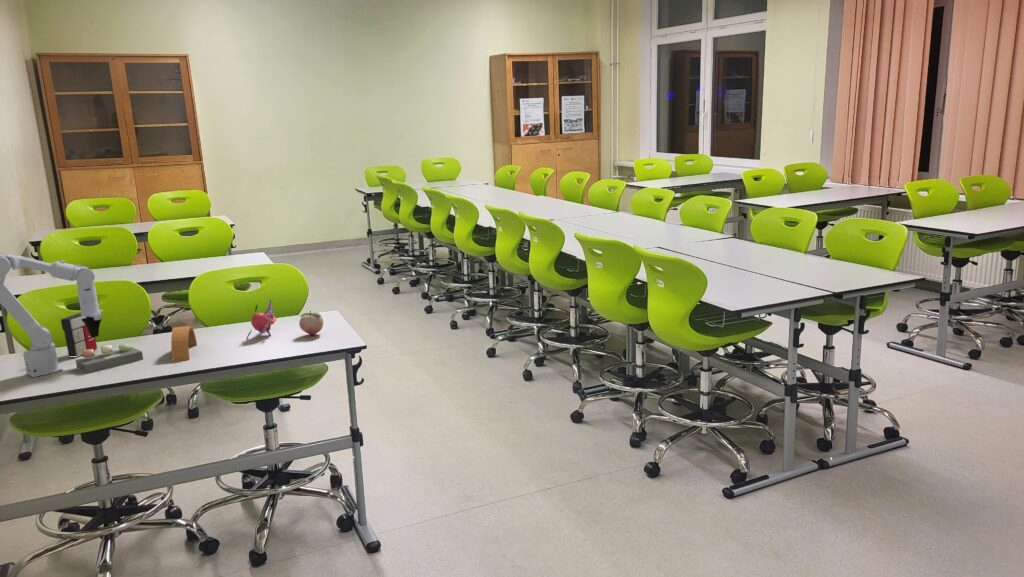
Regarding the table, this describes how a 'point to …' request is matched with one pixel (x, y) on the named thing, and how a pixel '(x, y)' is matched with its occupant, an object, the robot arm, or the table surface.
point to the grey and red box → (77, 335)
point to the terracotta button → (88, 353)
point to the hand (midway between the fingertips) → (94, 336)
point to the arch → (182, 342)
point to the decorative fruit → (311, 323)
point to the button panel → (108, 360)
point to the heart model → (263, 320)
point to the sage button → (124, 347)
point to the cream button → (106, 349)
